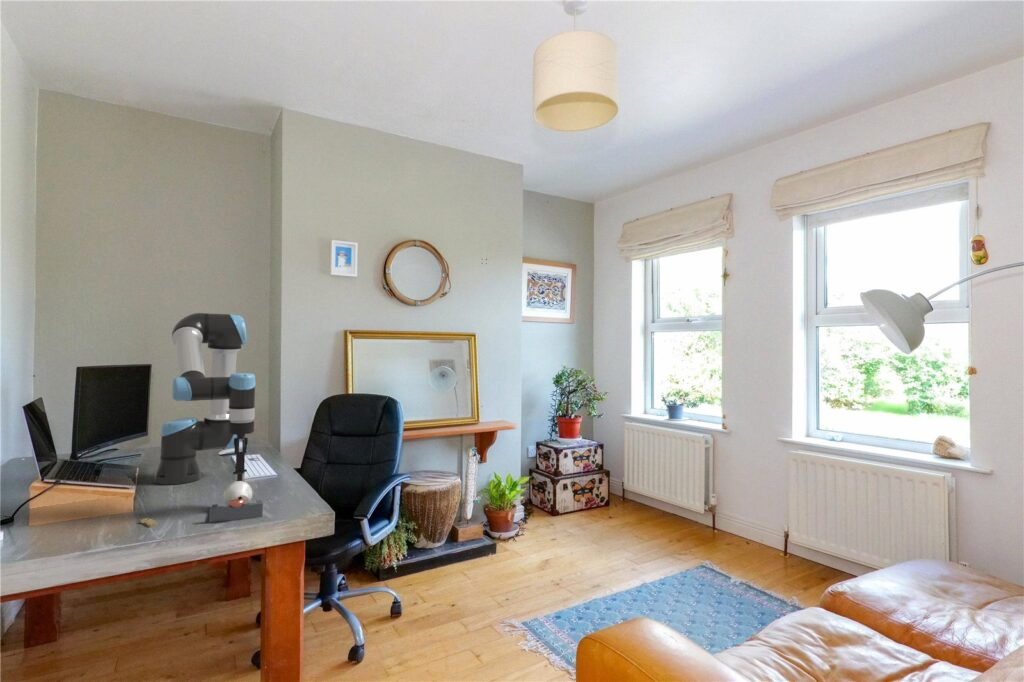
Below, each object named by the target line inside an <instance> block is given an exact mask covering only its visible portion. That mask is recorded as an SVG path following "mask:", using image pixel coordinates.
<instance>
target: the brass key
mask: <svg viewBox="0 0 1024 682" xmlns="http://www.w3.org/2000/svg"><path fill="white" fill-rule="evenodd" d="M140 524H141V525H146V526H147V527H149V528H153V527H157V525H158V523H157V522H156V521H154V520H153V518H152V517H146V518H142V519H140Z"/></svg>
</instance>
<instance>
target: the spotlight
mask: <svg viewBox="0 0 1024 682" xmlns="http://www.w3.org/2000/svg"><path fill="white" fill-rule="evenodd" d="M238 498H242V499H245V500H244V504H250V502H251V501H252V498H253V489H252V488H251V485H250V484H249V483H248V482H246V481H244V482H243V481H235V480H234V481H233V482H231V483H229V485H227V486H226V487H225V489H224V492H223V500H224V503H225V504H226V506H229V501H230V500H232V499H238Z"/></svg>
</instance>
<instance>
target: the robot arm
mask: <svg viewBox="0 0 1024 682" xmlns="http://www.w3.org/2000/svg"><path fill="white" fill-rule="evenodd" d="M247 338H248V337H247V327H246V322H245V319H244V318H243V317H242V316H241V315H238V314H230V313H207V312H195V313H190V314H188V315H187V316H184V317H183V318H181V319H180V320H179V321H178V322H177V323H176V324H175V325H174V327H173V329H172V332H171V339H172V343H173V345H174V346H175V349H176V359H177V361H176V362H177V372H178V377H174V378H173V380H172V389H171V390H172V391H171V394H172V396H171V397H172V400H174V401H176V402H177V401H181V402H182V401H185V402H193V401H194V402H195V401H209V407H208V412H207V413H205V414H204V417H203V420H199V419H198V417H195V416H192V417H184V418H183V417H182V418H177V419H176V418H175V419H172V420H168V421H166V422H164V423H163V424H162V425H161V432H160V437H161V439H160V459H159V460H160V461H159V463H158V466H157V469H156V471H155V473H154V476H153V484H156V485H165V486H166V485H181V484H182V485H183V484H187V483H192V482H195V481H199V480H200V479H201V478H202V476H201V475H202V472H201V469H200V466H199V463H198V460H197V452H201V451H203V452H204V451H211V450H212V451H213V450H214V451H215V450H225V449H226V450H227V449H233V448H234V453H235V466H234V467H235V470H234V471H233V472H232V475H234V482H235V481H243V482H245V473H246V472H248V471H247V469H245V459H246V458H245V455H246V453H247V445H248V443H249V441H248V437H246V435H249V434H252V433H254V432H255V421H254V420H255V414H256V412H255V411H256V410H255V409H256V408H255V399H256V398H255V397H256V385H257V383H256V375H255V374H254V373H248V372H237V371H236V370H237V358H238V357H237V355H238V352H240V351H241V350H242V345H246V344H247V340H248V339H247ZM201 344H207V349H208V350H209V351H210V352H211V366H210V369H211V370H210V376H209V377H207V376H206V373H205V365H204V361H203V360H204V359H203V352H202V346H201Z"/></svg>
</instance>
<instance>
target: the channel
mask: <svg viewBox="0 0 1024 682" xmlns="http://www.w3.org/2000/svg"><path fill="white" fill-rule="evenodd" d="M244 500H245V499H242V498H238V499H232V500H230V501H229V506H228V505H224V506H219V504H218V503H217V504H215V503H214V504H212V506H211V507H209V516H208V517H209V519H208V521H209V522H208V524H211V523H210V522H213V523H218V522H217V521H222V522H228V521H227V520H230V521H237V520H238V521H239V520H245V519H246V520H247V519H254V518H255V519H256V518H257V519H258V518H262V517H263V509H264V508H263V507H264V506H263V505H264V503H263V502H262V499H257V500H256V502H253V503H249V504H244Z"/></svg>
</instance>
